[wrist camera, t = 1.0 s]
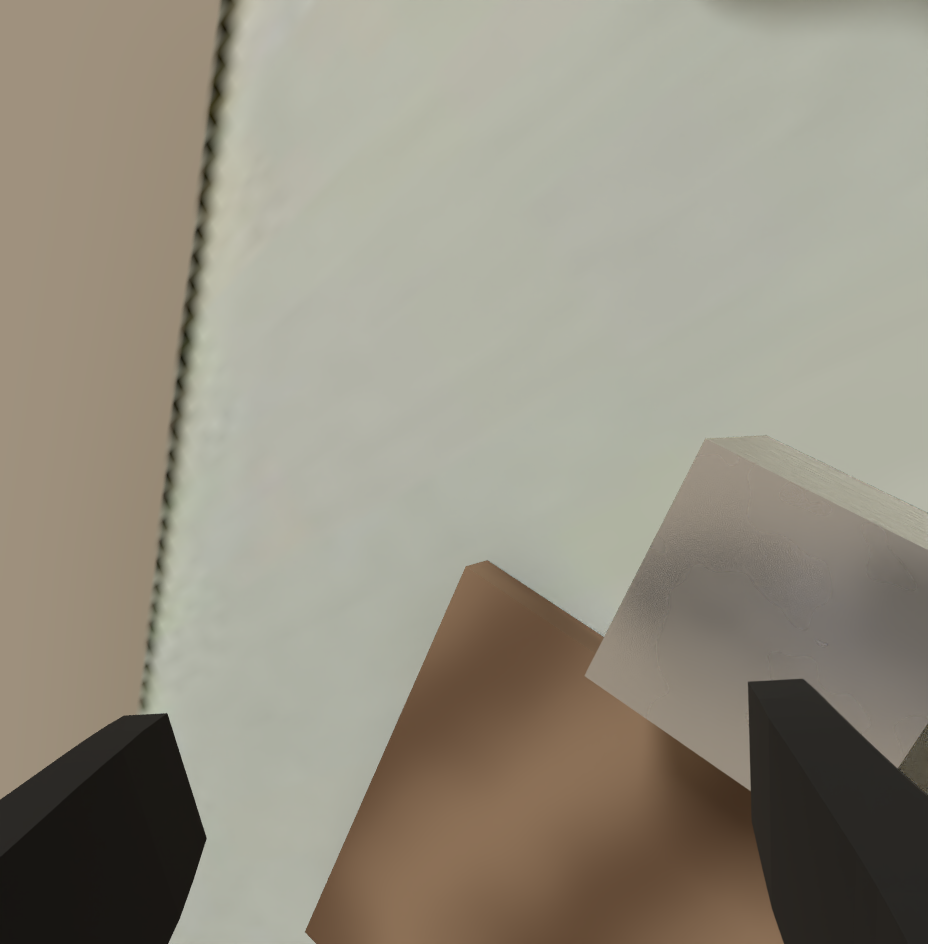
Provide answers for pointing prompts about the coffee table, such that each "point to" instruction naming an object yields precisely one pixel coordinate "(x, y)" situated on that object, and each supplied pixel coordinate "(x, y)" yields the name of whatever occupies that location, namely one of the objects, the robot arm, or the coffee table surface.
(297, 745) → the coffee table surface
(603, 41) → the coffee table surface
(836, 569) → the brushed aluminum cube
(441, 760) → the walnut board
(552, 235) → the coffee table surface
